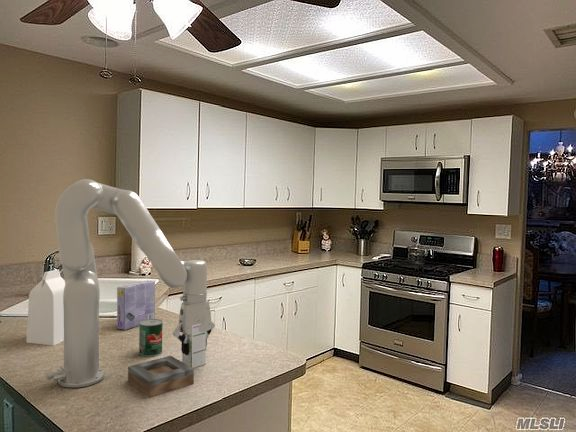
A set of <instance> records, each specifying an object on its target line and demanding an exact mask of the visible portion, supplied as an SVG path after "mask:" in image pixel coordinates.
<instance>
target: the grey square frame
mask: <svg viewBox="0 0 576 432" xmlns="http://www.w3.org/2000/svg"><path fill="white" fill-rule="evenodd" d="M194 370H195V368H192V367H190V366H188V365H186V364H185V363H183V362H182V361H181V360H179V359H177V357H176V358H175V357H174V356H172V355H168V356H164V357H160V358H156V359H152V360H148V361H144V362H140V363H136V364H132V365H128V366H127V382H129V384H131V385H132V386H134V387H135V388H136V389H138V390H139V391H140V392H141V393H142V394H144V395H145V396H147V397H148V398H152V397H155V396H158V395H161V394H166V393H169V392H172V391H174V390H177V389H180V388H183V387H187V386H191V385H194V379H195V377H194V373H195V371H194Z"/></svg>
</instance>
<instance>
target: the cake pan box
mask: <svg viewBox="0 0 576 432" xmlns="http://www.w3.org/2000/svg"><path fill="white" fill-rule="evenodd" d="M116 289H117V290H116V329H117V330H118V329H119V330H121V331H127V330H129V329H133V328H135V327H139V325H140V324H139V323H140V321H143V320H147V319H156V281H154V280H152V281H151V280H147V281H141V282H137V283H132V284H131V283H130V284H126V285H123V286H117V287H116Z"/></svg>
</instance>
